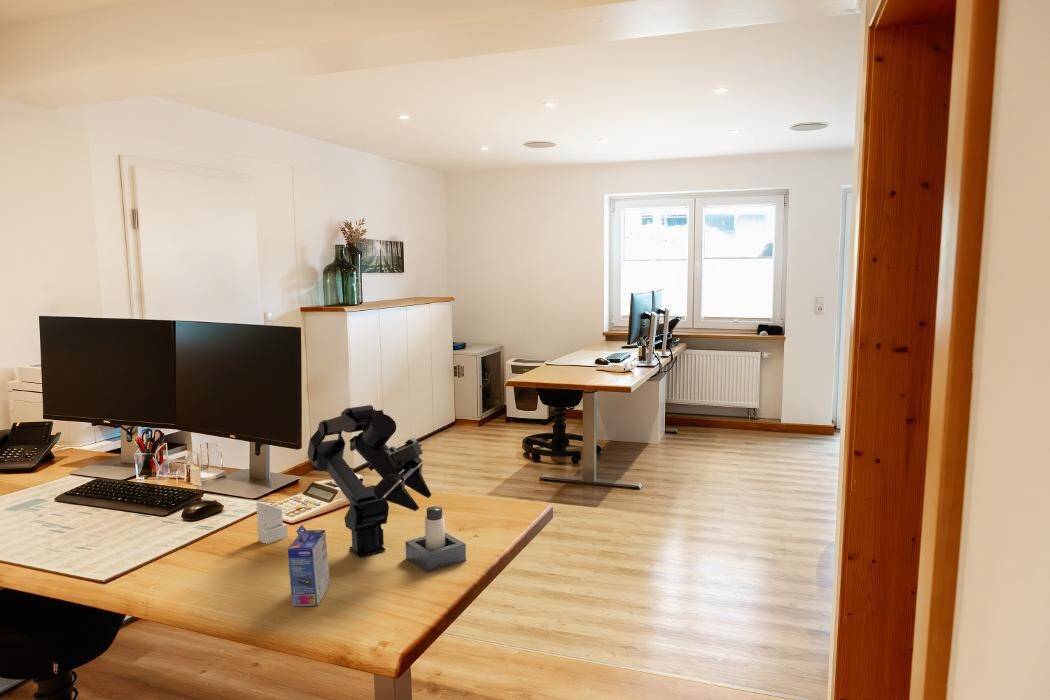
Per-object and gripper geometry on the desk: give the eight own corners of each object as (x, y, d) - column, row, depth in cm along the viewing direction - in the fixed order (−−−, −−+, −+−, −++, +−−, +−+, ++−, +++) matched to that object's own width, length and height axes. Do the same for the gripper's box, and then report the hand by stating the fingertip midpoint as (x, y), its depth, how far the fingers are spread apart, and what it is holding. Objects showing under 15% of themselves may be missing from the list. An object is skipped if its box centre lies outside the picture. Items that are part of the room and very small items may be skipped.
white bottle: (426, 564, 156) (425, 513, 154) (425, 556, 160) (424, 506, 159) (446, 562, 157) (444, 511, 155) (444, 554, 161) (443, 504, 160)
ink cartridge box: (304, 584, 146) (300, 519, 145) (330, 584, 146) (327, 518, 145) (289, 607, 137) (286, 537, 135) (317, 606, 137) (314, 536, 135)
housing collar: (427, 572, 151) (427, 555, 151) (406, 558, 159) (405, 541, 159) (465, 560, 157) (465, 543, 157) (443, 547, 165) (442, 531, 165)
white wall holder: (241, 536, 167) (256, 501, 170) (274, 545, 175) (288, 511, 177) (249, 540, 165) (264, 504, 168) (283, 548, 173) (296, 514, 175)
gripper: (385, 439, 148) (435, 492, 147) (413, 421, 166) (458, 468, 165) (351, 473, 150) (401, 525, 149) (383, 452, 168) (427, 498, 168)
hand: (423, 502), depth 158 cm, fingers open, 9 cm apart
